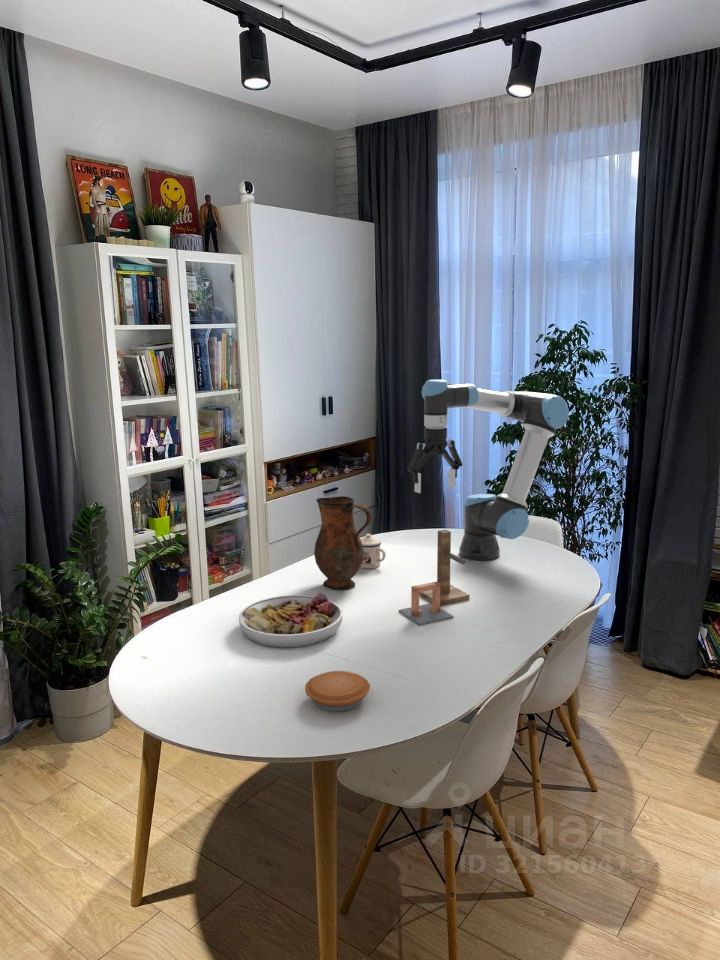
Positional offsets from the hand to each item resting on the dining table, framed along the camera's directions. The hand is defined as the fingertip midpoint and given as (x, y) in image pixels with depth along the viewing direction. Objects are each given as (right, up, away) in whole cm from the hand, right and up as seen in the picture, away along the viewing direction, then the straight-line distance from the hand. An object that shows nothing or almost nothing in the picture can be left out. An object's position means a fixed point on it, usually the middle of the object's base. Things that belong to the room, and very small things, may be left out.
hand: (434, 490), depth 254 cm
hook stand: (+3, -35, -11) cm, 37 cm away
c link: (-5, -37, -23) cm, 44 cm away
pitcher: (-30, -33, +1) cm, 45 cm away
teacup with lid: (-21, -28, +22) cm, 41 cm away
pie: (-30, -50, -73) cm, 93 cm away
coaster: (-5, -38, -23) cm, 45 cm away
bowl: (-45, -41, -32) cm, 69 cm away
